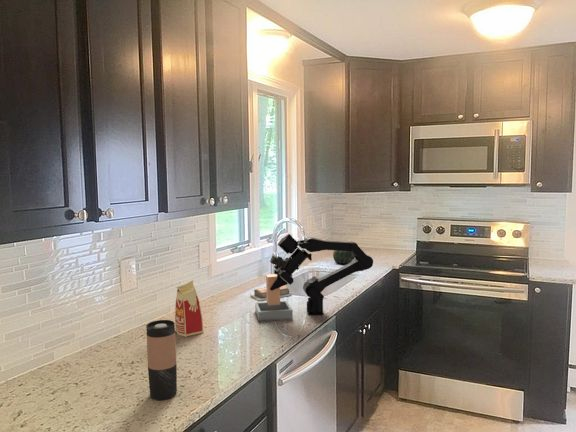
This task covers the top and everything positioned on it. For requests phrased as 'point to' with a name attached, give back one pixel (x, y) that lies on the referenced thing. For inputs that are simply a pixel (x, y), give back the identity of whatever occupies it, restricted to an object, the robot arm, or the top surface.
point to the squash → (343, 257)
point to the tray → (273, 311)
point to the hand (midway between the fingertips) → (269, 288)
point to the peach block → (273, 295)
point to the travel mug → (162, 359)
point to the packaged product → (261, 293)
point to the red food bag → (188, 311)
